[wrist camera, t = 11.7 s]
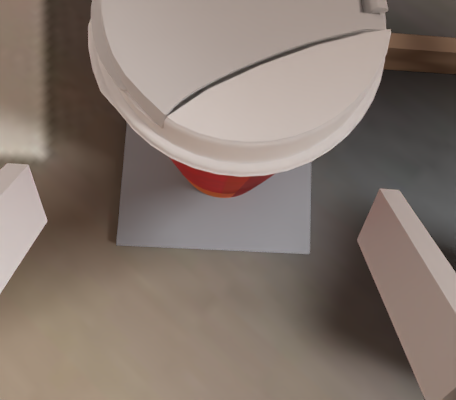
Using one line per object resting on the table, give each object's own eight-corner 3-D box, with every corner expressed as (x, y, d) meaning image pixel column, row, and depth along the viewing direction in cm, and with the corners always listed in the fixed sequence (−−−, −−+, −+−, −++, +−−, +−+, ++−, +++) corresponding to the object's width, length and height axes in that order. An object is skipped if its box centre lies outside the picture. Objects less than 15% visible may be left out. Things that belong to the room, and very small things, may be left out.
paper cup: (273, 92, 22) (380, -162, 8) (291, 206, 21) (447, 140, 7) (154, 105, 21) (52, -142, 8) (168, 223, 21) (83, 187, 7)
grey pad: (310, 77, 23) (312, 73, 22) (307, 253, 21) (309, 254, 21) (134, 65, 22) (132, 60, 22) (118, 245, 21) (116, 245, 20)
